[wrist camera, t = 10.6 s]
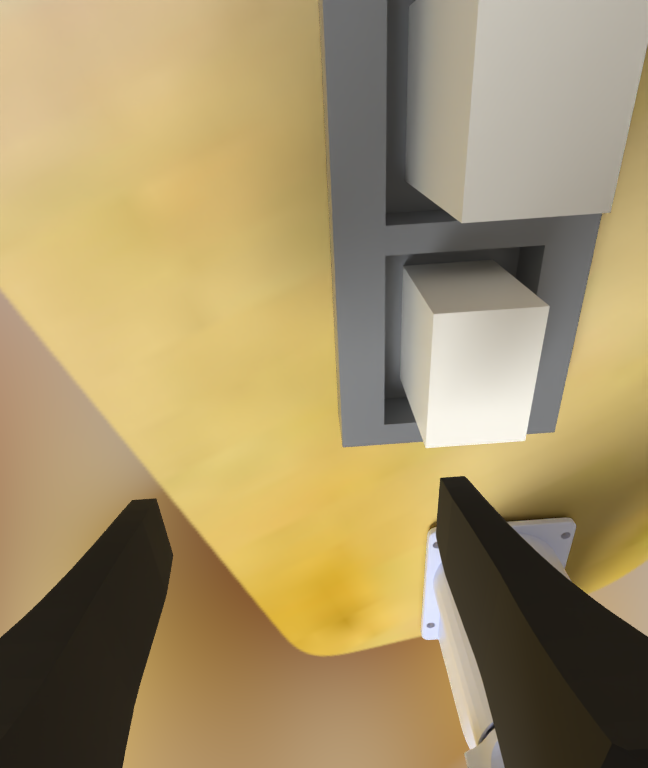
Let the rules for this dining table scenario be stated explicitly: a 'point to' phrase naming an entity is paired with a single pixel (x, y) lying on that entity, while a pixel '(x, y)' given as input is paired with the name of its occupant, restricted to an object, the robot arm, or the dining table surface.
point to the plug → (521, 104)
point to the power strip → (415, 230)
